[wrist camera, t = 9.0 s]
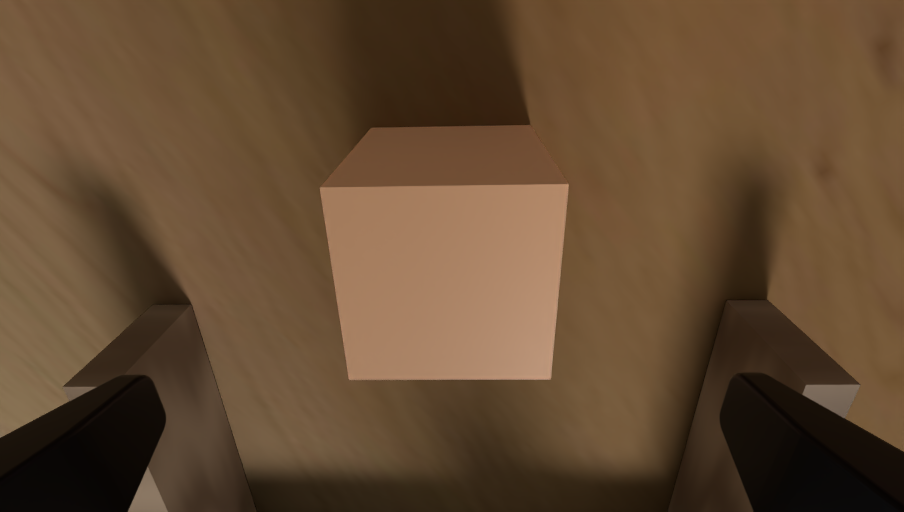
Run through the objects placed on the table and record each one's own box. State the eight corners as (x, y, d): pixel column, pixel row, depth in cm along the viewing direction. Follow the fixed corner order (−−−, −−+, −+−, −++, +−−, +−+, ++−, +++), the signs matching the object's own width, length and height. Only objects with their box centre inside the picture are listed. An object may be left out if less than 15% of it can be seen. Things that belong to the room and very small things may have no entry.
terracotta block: (523, 266, 17) (550, 379, 12) (384, 267, 17) (348, 379, 12) (530, 124, 15) (568, 184, 9) (371, 127, 15) (319, 187, 10)
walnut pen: (684, 557, 24) (728, 664, 20) (242, 554, 25) (199, 657, 21) (767, 300, 17) (860, 384, 13) (152, 304, 18) (62, 386, 14)
